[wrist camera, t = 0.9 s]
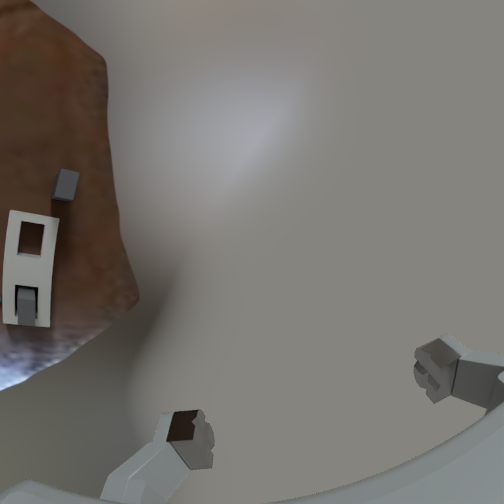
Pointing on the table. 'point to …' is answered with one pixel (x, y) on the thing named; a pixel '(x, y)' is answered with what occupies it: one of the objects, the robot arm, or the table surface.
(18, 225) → the power strip
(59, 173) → the plug
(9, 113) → the table surface
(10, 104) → the table surface
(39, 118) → the table surface
